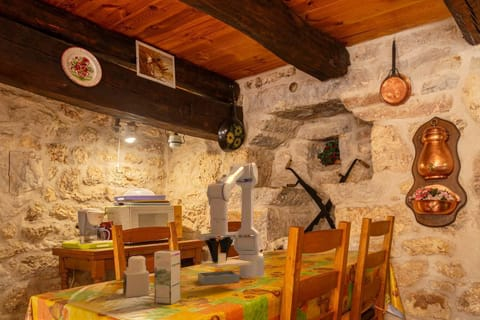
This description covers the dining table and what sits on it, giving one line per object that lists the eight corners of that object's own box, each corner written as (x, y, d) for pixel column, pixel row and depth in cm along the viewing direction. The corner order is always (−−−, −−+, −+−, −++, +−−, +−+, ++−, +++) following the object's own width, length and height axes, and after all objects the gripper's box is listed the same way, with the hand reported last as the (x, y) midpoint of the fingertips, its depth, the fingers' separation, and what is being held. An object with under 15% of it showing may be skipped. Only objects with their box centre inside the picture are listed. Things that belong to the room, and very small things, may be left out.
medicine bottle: (122, 293, 123) (123, 255, 125) (145, 291, 126) (145, 253, 127) (125, 298, 117) (126, 257, 118) (149, 295, 120) (149, 256, 121)
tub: (231, 279, 143) (231, 270, 144) (239, 283, 135) (239, 274, 135) (197, 282, 139) (197, 273, 140) (203, 286, 131) (203, 277, 131)
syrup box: (181, 300, 113) (180, 249, 114) (171, 305, 107) (171, 252, 109) (163, 299, 114) (164, 249, 116) (153, 303, 109) (153, 251, 111)
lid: (234, 261, 135) (234, 250, 135) (251, 264, 127) (251, 252, 128) (201, 264, 126) (201, 252, 127) (218, 267, 119) (218, 255, 119)
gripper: (229, 218, 134) (230, 258, 133) (193, 220, 125) (194, 262, 124) (241, 218, 129) (242, 260, 127) (205, 220, 120) (205, 264, 118)
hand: (219, 261), depth 125 cm, fingers closed on lid, 3 cm apart
